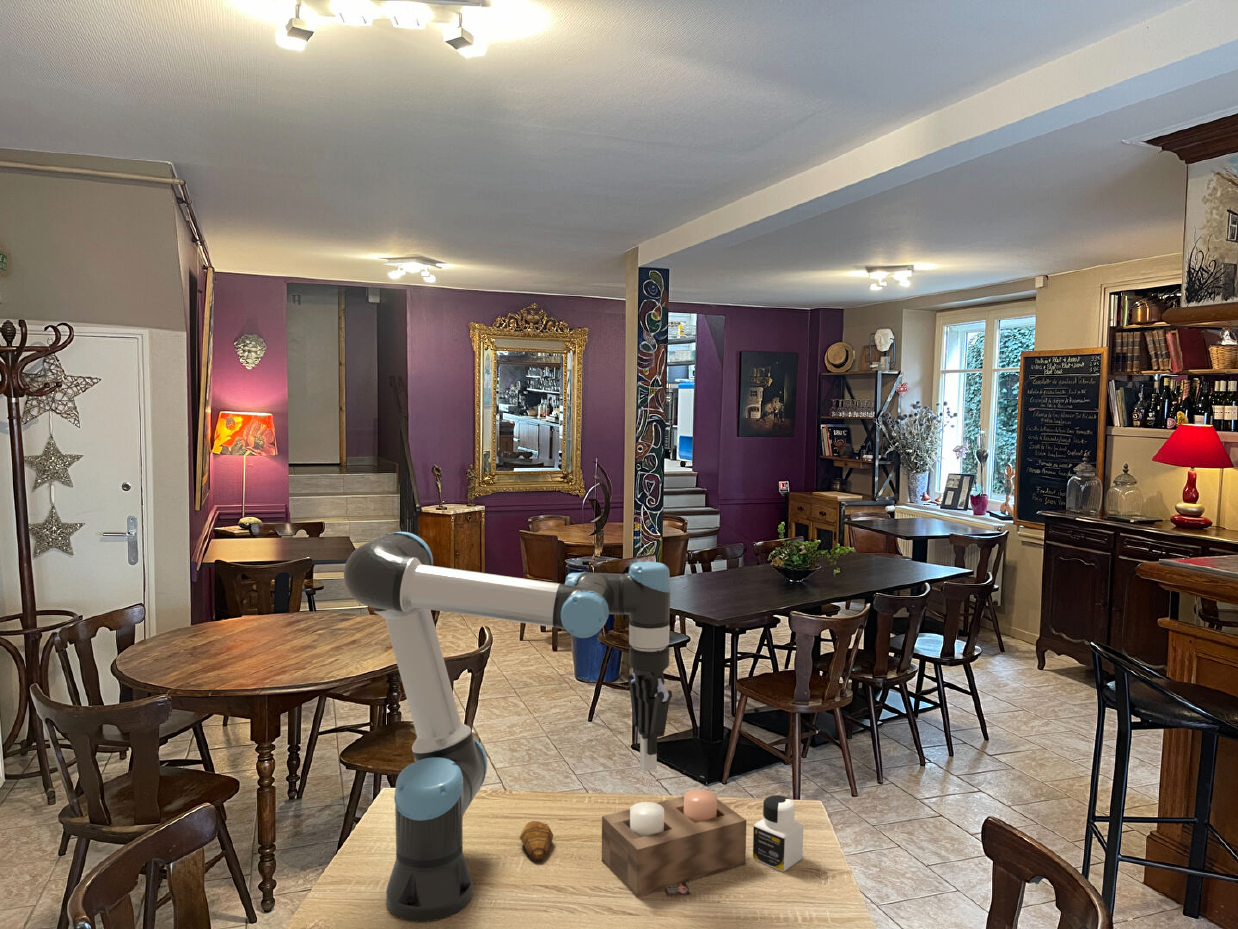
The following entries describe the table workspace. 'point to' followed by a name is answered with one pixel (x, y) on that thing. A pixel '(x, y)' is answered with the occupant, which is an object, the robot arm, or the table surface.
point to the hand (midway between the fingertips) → (648, 768)
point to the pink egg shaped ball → (700, 805)
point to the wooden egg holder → (673, 848)
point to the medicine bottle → (778, 834)
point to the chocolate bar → (677, 890)
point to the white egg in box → (646, 818)
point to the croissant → (536, 839)
